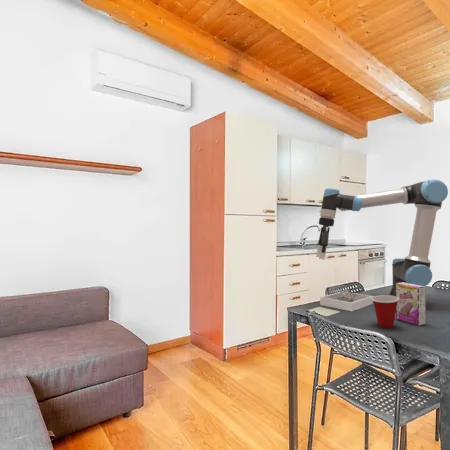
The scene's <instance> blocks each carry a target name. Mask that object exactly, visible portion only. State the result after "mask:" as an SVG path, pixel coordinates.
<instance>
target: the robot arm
mask: <svg viewBox="0 0 450 450" xmlns="http://www.w3.org/2000/svg"><path fill="white" fill-rule="evenodd" d="M448 195H449V189H448V186H447V185H446V184H445V182H443V181H442V180H440V179H427V180H424V181H419V182H415V183H413V184H410V185H406V186H402V187H400V189H399V188H398V189H392V190H384V191H378V192H377V191H376V192H371V193H364V194H357V195H355V194H354V195H350V194H349V195H348V194H342V193H340V190H339V189H337V188H333V187H331V188H330V187H327V188H325V189H324V193H323V196H322V202H321V208H320V209H321V210H319V213H320V214H319V216H320V217H319V218H318V219H319V220H318V224H319V225H320V226H321V227H320V234H319V237H318V242H317V249H316V255H315V257H316V258H318V259H320V260H325V258H326V253H327V247H328V246H329V235H330V229H331V228H330V227H334V226H335V225H334V224H335V218H336V212H337V209H338V210H339V211H341V212H346V211H352V212H359V211H361V210H362V209H365V208H373V207H381V206H387V205H397V204H403V205H410V204H411V205H412V204H414V207H415V208H416V214H415V219H414V224H413V230H412V236H411V240H410V247H409V253H408V255H407V256H405V257H404V258H394V259H392V263H391V266H392V287H391V290H390V292H389V294H388V295H389V296H395V297H396V283H401V282H404V283H409V284H414V285H419V286H425V287H426V286H428V285H429V284H430V283H431V282H432V279H433V272H432V271H431V269H430V267H431V261H430V259H429V255H430V248H431V244H432V243H431V242H432V238H433V232H434V227H435V224H436V223H435V221H436V216H437V213H438V211H439V210H441V208H442V205H443V201H445V200H446V199H447V197H448Z"/></svg>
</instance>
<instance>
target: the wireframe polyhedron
mask: <svg viewBox="0 0 450 450" xmlns="http://www.w3.org/2000/svg"><path fill="white" fill-rule="evenodd" d="M340 292H341V293H340V296H339V298H337V299H340V301H345V302H350V303H351V302H354V301H353V299H354V297H355V296H356V295H354V294H353V293H354V292H352V291H351V290H350V288H348V289H340Z"/></svg>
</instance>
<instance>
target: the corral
mask: <svg viewBox="0 0 450 450" xmlns="http://www.w3.org/2000/svg"><path fill="white" fill-rule="evenodd" d="M340 293H341V291H337V292H335V293H331V294H326V295H324V296H320V297H319V304H320V306H323V307H324V306H325V307H328V308H332V309H333V308H334V309H339V310H344V311H347V312H354V311H357V310H359V309H362V308H365V307H368V306H371V305H374V303H373V301H372V300H371V298H372V297H374V295H369V294H368V295H367V294H362V293H356V292H352V293H353V294H354V295H356V296H355V297H354V299H353V302H351V303H350V302H345V301H341V300H340V299H337V298H339V296H340Z"/></svg>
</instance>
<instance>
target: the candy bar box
mask: <svg viewBox="0 0 450 450" xmlns="http://www.w3.org/2000/svg"><path fill="white" fill-rule="evenodd" d="M426 290H427V289H426V286H419V285H414V284H409V283H404V282H401V283H396V297H398V298H399V301H398V303H397V307H396V314H395V320H398V321H401V322H405V323H408V324H412V325H416V326H418V327H419V326H423V325H426V324H427V323H426V319H427V318H426V305H427V303H426V301H427V300H426V296H427V295H426Z"/></svg>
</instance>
